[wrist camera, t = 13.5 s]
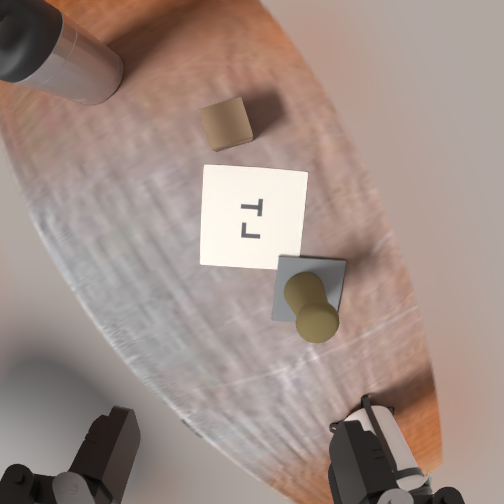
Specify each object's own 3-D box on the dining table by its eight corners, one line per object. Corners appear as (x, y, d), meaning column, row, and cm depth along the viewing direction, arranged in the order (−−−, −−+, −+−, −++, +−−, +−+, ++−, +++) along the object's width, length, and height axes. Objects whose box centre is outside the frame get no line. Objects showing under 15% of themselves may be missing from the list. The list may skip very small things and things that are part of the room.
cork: (317, 265, 41) (339, 297, 30) (328, 300, 42) (350, 339, 32) (277, 280, 41) (287, 317, 31) (291, 315, 43) (303, 357, 32)
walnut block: (216, 151, 37) (210, 148, 31) (206, 118, 36) (199, 109, 30) (252, 141, 37) (253, 136, 31) (242, 107, 35) (241, 96, 30)
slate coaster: (271, 318, 44) (271, 320, 43) (278, 255, 41) (278, 257, 40) (333, 320, 44) (334, 322, 44) (345, 260, 41) (346, 261, 41)
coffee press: (325, 402, 49) (364, 536, 20) (399, 386, 49) (462, 496, 20) (320, 449, 54) (344, 557, 25) (384, 435, 54) (424, 530, 25)
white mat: (200, 263, 42) (200, 264, 41) (204, 164, 38) (204, 164, 37) (297, 269, 42) (297, 270, 42) (307, 172, 38) (308, 172, 38)
